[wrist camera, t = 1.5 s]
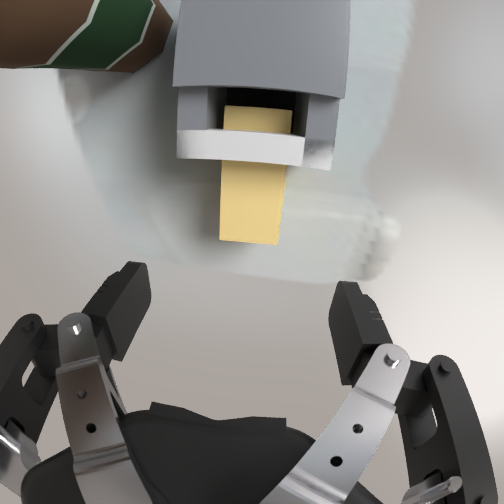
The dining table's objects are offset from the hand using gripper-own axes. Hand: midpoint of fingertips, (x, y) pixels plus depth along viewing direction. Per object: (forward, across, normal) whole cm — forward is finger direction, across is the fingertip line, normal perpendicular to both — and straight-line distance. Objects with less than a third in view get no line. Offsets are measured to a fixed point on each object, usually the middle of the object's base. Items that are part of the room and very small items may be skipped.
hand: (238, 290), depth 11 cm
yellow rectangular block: (+13, 0, -3) cm, 13 cm away
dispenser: (+12, 0, -10) cm, 16 cm away
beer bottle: (+13, +11, -14) cm, 22 cm away
